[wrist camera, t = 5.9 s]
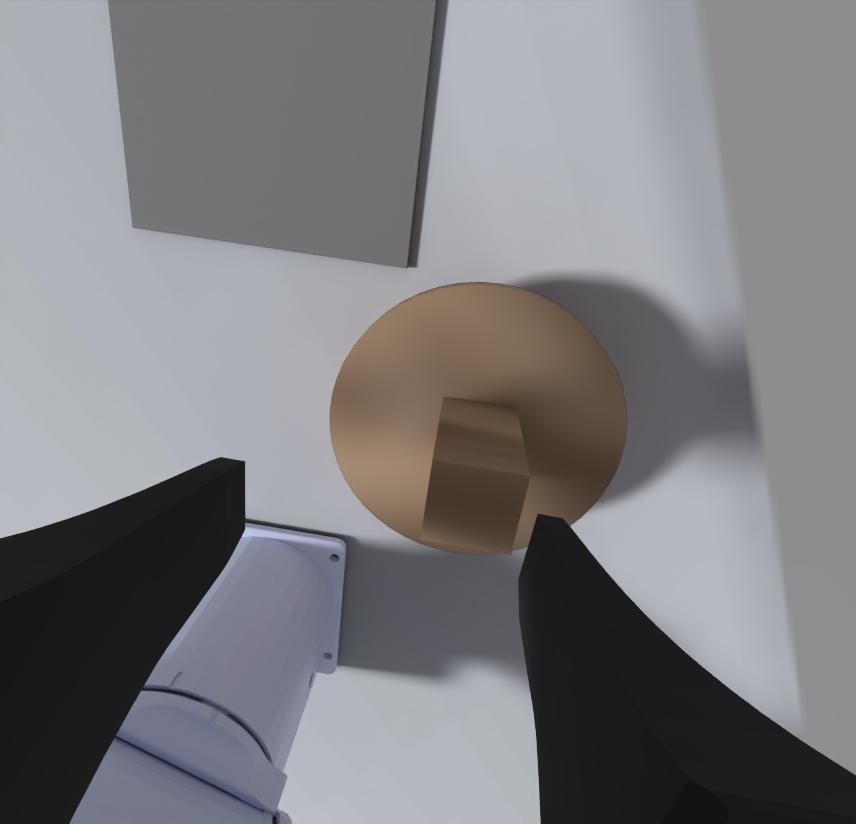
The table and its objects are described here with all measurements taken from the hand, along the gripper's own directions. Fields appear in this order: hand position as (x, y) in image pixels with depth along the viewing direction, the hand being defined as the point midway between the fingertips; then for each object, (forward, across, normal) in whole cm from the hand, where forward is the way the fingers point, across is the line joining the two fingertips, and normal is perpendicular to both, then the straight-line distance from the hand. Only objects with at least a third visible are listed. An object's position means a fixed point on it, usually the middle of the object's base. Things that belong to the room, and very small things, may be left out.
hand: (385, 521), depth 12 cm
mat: (+10, +7, -10) cm, 16 cm away
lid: (+7, -2, 0) cm, 7 cm away
